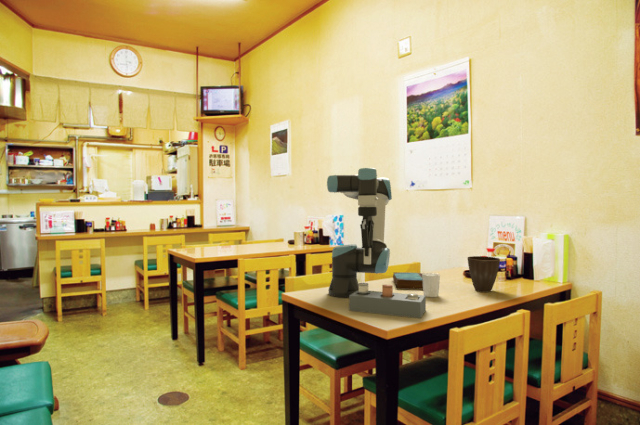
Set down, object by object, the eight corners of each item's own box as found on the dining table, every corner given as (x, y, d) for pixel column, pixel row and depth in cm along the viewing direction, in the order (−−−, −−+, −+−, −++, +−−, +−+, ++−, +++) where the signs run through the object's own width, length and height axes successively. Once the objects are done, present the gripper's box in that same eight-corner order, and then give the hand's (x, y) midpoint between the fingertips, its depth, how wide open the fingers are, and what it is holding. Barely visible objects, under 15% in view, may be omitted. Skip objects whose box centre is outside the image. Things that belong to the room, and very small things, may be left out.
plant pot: (504, 290, 198) (504, 257, 198) (493, 295, 187) (493, 261, 187) (474, 286, 208) (474, 255, 208) (462, 290, 197) (462, 258, 197)
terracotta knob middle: (381, 299, 159) (381, 286, 159) (383, 297, 163) (383, 284, 163) (391, 300, 157) (391, 286, 157) (393, 298, 161) (393, 285, 161)
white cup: (440, 298, 182) (440, 276, 182) (422, 297, 183) (422, 275, 183) (439, 294, 189) (439, 273, 189) (421, 293, 191) (421, 272, 191)
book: (432, 290, 201) (432, 280, 201) (396, 289, 202) (396, 279, 202) (424, 281, 223) (424, 272, 223) (392, 281, 225) (392, 272, 225)
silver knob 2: (406, 309, 155) (406, 295, 155) (408, 307, 159) (408, 293, 159) (416, 310, 153) (417, 296, 153) (418, 308, 157) (418, 294, 157)
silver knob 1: (357, 297, 163) (357, 284, 163) (360, 295, 167) (360, 282, 167) (366, 298, 161) (366, 284, 161) (369, 296, 165) (369, 283, 165)
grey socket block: (349, 310, 160) (349, 295, 160) (358, 303, 171) (358, 289, 171) (420, 318, 149) (420, 302, 149) (425, 310, 160) (425, 295, 160)
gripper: (372, 206, 155) (372, 267, 156) (380, 206, 168) (380, 262, 168) (353, 206, 158) (354, 266, 159) (362, 205, 170) (362, 261, 171)
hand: (367, 263), depth 164 cm, fingers closed
